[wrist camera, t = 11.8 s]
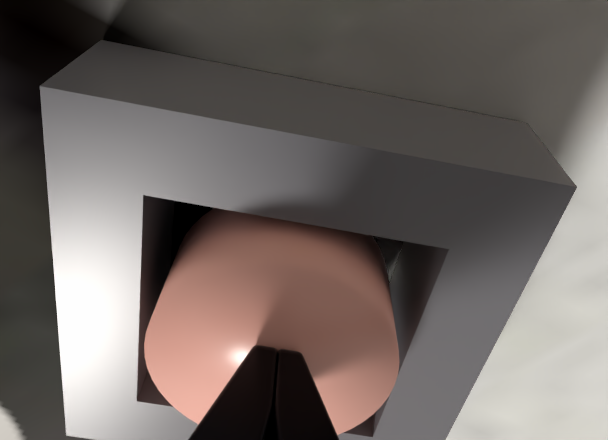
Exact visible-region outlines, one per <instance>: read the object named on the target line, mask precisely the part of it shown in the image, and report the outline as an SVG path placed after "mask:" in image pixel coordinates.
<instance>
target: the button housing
mask: <svg viewBox="0 0 608 440" xmlns="http://www.w3.org/2000/svg"><path fill="white" fill-rule="evenodd" d="M40 95H41V108H42V121H43V135H44V148H45V161H46V174H47V187H48V200H49V213H50V226H51V239H52V253H53V266H54V279H55V292H56V305H57V318H58V331H59V344H60V358H61V371H62V384H63V397H64V410H65V423H66V435H67V436H74V437H81V438H87V439H94V440H188V439H189V437H190V436H191V434H192V433H193V432H194V430H195V429H196V427H197V426H198V424H197V423H195V422H194V421H192V420H190V419H189V418H187V417H186V416H184V415H183V414H182V413H180V412H179V411H178V410H176V409H175V408H174V407H173V406H172V405H171V404H170V403H169V402H168V401H167V400H166V399H165V398H164V396H163V395H162V394H161V393H160V391H159V390H158V389H157V387H156V385H155V384H154V382H153V380H152V378H151V376H150V374H149V371H148V369H147V365H146V360H145V353H144V342H145V335H146V331H147V328H148V325H149V322H150V319H151V317H152V314H153V312H154V309H155V307H156V304H157V302H158V299H159V297H160V294H161V292H162V289H163V287H164V284H165V281H166V279H167V276H168V274H169V271H170V262H171V248H172V233H173V218H174V204H175V201H179V202H185V203H191V204H196V205H202V206H208V207H213V208H219V209H225V210H230V211H236V212H242V213H247V214H253V215H258V216H264V217H270V218H275V219H281V220H287V221H292V222H298V223H304V224H309V225H315V226H321V227H326V228H332V229H338V230H343V231H349V232H354V233H360V234H366V235H371V236H377V237H383V238H388V239H394V240H400V241H404V243H403V246H402V249H401V252H400V255H399V257H398V260H397V263H396V266H395V269H394V272H393V275H392V278H391V281H390V283H389V287H390V294H391V301H392V308H393V315H394V322H395V329H396V336H397V343H398V349H399V370H398V376H397V379H396V382H395V385H394V387H393V389H392V391H391V393H390V395H389V397H388V398H387V399H386V401H385V402H384V403H383V405H382V406H381V407H380V408H379V409H378V410H377V411H376V412H375V413H374V414H373V415H372V416H370V417H369V418H368V419H366V420H365V421H364V422H362V423H361V424H359V425H357V426H356V427H354V428H352V429H350V430H348V431H346V432H344V433H341V434H339V435H338V438H339V440H445V439H446V437H447V436H448V434H449V432H450V430H451V428H452V426H453V424H454V422H455V420H456V418H457V416H458V414H459V413H460V411H461V409H462V407H463V405H464V403H465V401H466V399H467V397H468V395H469V393H470V391H471V389H472V388H473V386H474V384H475V382H476V380H477V378H478V376H479V374H480V372H481V370H482V368H483V366H484V365H485V363H486V361H487V359H488V357H489V355H490V353H491V351H492V349H493V347H494V345H495V343H496V341H497V340H498V338H499V336H500V334H501V332H502V330H503V328H504V326H505V324H506V322H507V320H508V318H509V317H510V315H511V313H512V311H513V309H514V307H515V305H516V303H517V301H518V299H519V297H520V295H521V293H522V292H523V290H524V288H525V286H526V284H527V282H528V280H529V278H530V276H531V274H532V272H533V270H534V269H535V267H536V265H537V263H538V261H539V259H540V257H541V255H542V253H543V251H544V249H545V247H546V246H547V244H548V242H549V240H550V238H551V236H552V234H553V232H554V230H555V228H556V226H557V224H558V222H559V221H560V219H561V217H562V215H563V213H564V211H565V209H566V207H567V205H568V203H569V201H570V199H571V198H572V196H573V194H574V192H575V190H576V188H577V186H576V185H575V184H574V183H573V181H572V180H571V179H570V177H569V176H568V175H567V174H566V172H565V171H564V170H563V168H562V167H561V166H560V165H559V163H558V162H557V161H556V160H555V158H554V157H553V156H552V154H551V153H550V152H549V151H548V149H547V148H546V147H545V145H544V144H543V143H542V142H541V140H540V139H539V138H538V136H537V135H536V134H535V133H534V131H533V130H532V129H531V128H530V126H529V125H528V124H527V123H525V122H520V121H515V120H510V119H504V118H499V117H494V116H489V115H484V114H479V113H474V112H469V111H463V110H458V109H453V108H448V107H443V106H438V105H433V104H427V103H422V102H417V101H412V100H407V99H402V98H397V97H392V96H386V95H381V94H376V93H371V92H366V91H361V90H356V89H350V88H345V87H340V86H335V85H330V84H325V83H320V82H315V81H309V80H304V79H299V78H294V77H289V76H284V75H279V74H273V73H268V72H263V71H258V70H253V69H248V68H243V67H238V66H232V65H227V64H222V63H217V62H212V61H207V60H202V59H196V58H191V57H186V56H181V55H176V54H171V53H166V52H161V51H155V50H150V49H145V48H140V47H135V46H130V45H125V44H119V43H114V42H109V41H104V40H101V41H99V42H98V43H97V44H95V45H94V46H93V47H91V48H90V49H89V50H87V51H86V52H85V53H83V54H82V55H81V56H79V57H78V58H77V59H75V60H74V61H73V62H71V63H70V64H69V65H67V66H66V67H65V68H63V69H62V70H61V71H59V72H58V73H57V74H55V75H54V76H53V77H51V78H50V79H49V80H47V81H46V82H45V83H43V84H42V85H41V86H40Z"/></svg>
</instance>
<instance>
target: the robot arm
mask: <svg viewBox="0 0 608 440" xmlns="http://www.w3.org/2000/svg"><path fill="white" fill-rule="evenodd" d="M188 440H339V438H338V435H337V433H336V431H335V428H334V426H333V424H332V421H331V419H330V417H329V414H328V412H327V410H326V407H325V405H324V403H323V400H322V398H321V396H320V393H319V391H318V389H317V386H316V384H315V382H314V380H313V377H312V375H311V373H310V370H309V368H308V366H307V363H306V361H305V359H304V356H303V355H302V353H300V352H298V351H292V350H286V349H280V350H279V351H278V352H277V350H276V348H273V347H267V346H261V345H255V346H253V347H252V349H251V350H250V351H249V353H248V354H247V356H246V357H245V359H244V360H243V361H242V363H241V364H240V366H239V367H238V369H237V370H236V371H235V373H234V374H233V376H232V377H231V379H230V380H229V381H228V383H227V384H226V386H225V387H224V389H223V390H222V391H221V393H220V394H219V396H218V397H217V399H216V400H215V401H214V403H213V404H212V406H211V407H210V409H209V410H208V412H207V413H206V414H205V416H204V417H203V419H202V420H201V422H200V423H199V424H198V426H197V427H196V429H195V430H194V432H193V433H192V434H191V436H190V437H189V439H188Z"/></svg>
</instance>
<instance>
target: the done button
mask: <svg viewBox="0 0 608 440" xmlns="http://www.w3.org/2000/svg"><path fill="white" fill-rule="evenodd" d="M255 345H261V346H267V347H273V348H276V350H277V352H278V351H279V350H280V349H286V350H292V351H298V352H300V353H302V355H303V356H304V359H305V361H306V363H307V366H308V368H309V370H310V373H311V375H312V377H313V380H314V382H315V384H316V386H317V389H318V391H319V393H320V396H321V398H322V400H323V403H324V405H325V407H326V410H327V412H328V414H329V417H330V419H331V421H332V424H333V426H334V428H335V431H336V433H337V435H339V434H341V433H344V432H346V431H348V430H350V429H352V428H354V427H356V426H357V425H359V424H361V423H362V422H364V421H365V420H366V419H368V418H369V417H370V416H372V415H373V414H374V413H375V412H376V411H377V410H378V409H379V408H380V407H381V406H382V405H383V403H384V402H385V401H386V399H387V398H388V397H389V395H390V393H391V391H392V389H393V387H394V385H395V382H396V379H397V376H398V370H399V349H398V343H397V336H396V329H395V322H394V315H393V308H392V301H391V294H390V287H389V280H388V274H387V268H386V264H385V260H384V257H383V255H382V252H381V250H380V248H379V246H378V244H377V243H376V241H375V240H374V238H373V237H372V236H371V235H366V234H360V233H354V232H349V231H343V230H338V229H332V228H326V227H321V226H315V225H309V224H304V223H298V222H292V221H287V220H281V219H275V218H270V217H264V216H258V215H253V214H247V213H242V212H236V211H230V210H225V209H219V208H213V209H212V210H210V211H209V212H208V213H206V214H205V215H203V216H202V217H201V218H200V219H199V220H198V221H197V222H196V223H195V224H194V225H193V226H192V227H191V228H190V230H189V231H188V232H187V233H186V235H185V237H184V238H183V240H182V242H181V244H180V246H179V249H178V251H177V254H176V256H175V259H174V261H173V264H172V266H171V269H170V271H169V274H168V276H167V279H166V281H165V284H164V287H163V289H162V292H161V294H160V297H159V299H158V302H157V304H156V307H155V309H154V312H153V314H152V317H151V319H150V322H149V325H148V328H147V331H146V335H145V342H144V353H145V360H146V365H147V369H148V371H149V374H150V376H151V378H152V380H153V382H154V384H155V385H156V387H157V389H158V390H159V391H160V393H161V394H162V395H163V396H164V398H165V399H166V400H167V401H168V402H169V403H170V404H171V405H172V406H173V407H174V408H175V409H176V410H178V411H179V412H180V413H182V414H183V415H184V416H186V417H187V418H189V419H190V420H192V421H194V422H195V423H197V424H199V423H200V422H201V420H202V419H203V417H204V416H205V414H206V413H207V412H208V410H209V409H210V407H211V406H212V404H213V403H214V401H215V400H216V399H217V397H218V396H219V394H220V393H221V391H222V390H223V389H224V387H225V386H226V384H227V383H228V381H229V380H230V379H231V377H232V376H233V374H234V373H235V371H236V370H237V369H238V367H239V366H240V364H241V363H242V361H243V360H244V359H245V357H246V356H247V354H248V353H249V351H250V350H251V349H252V347H253V346H255Z"/></svg>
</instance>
